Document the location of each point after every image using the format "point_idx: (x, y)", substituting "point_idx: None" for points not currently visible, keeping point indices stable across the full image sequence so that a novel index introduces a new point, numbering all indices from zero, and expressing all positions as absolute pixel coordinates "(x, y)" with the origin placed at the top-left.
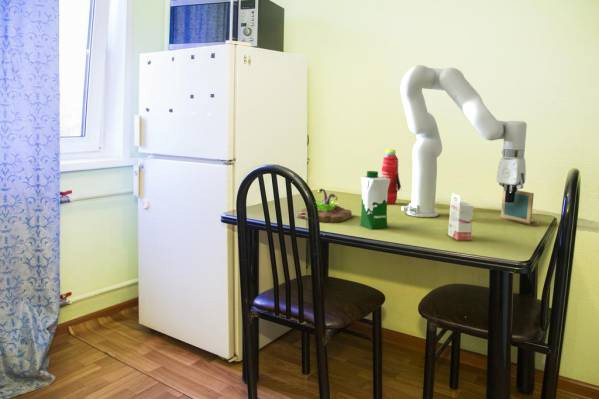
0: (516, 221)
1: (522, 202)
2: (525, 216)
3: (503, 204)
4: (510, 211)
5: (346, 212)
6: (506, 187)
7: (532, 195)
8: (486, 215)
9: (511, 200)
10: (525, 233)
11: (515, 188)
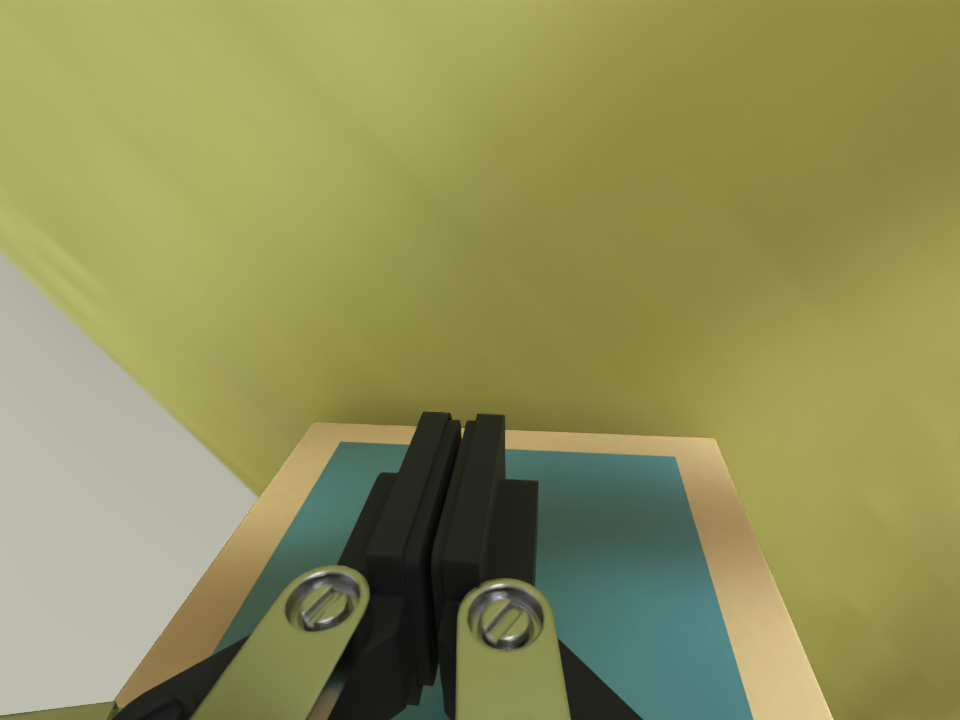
0: None
1: None
2: (345, 460)
3: (728, 545)
4: (575, 483)
5: None
6: (456, 695)
7: None
8: (950, 427)
9: (385, 473)
10: (18, 96)
11: (137, 700)
